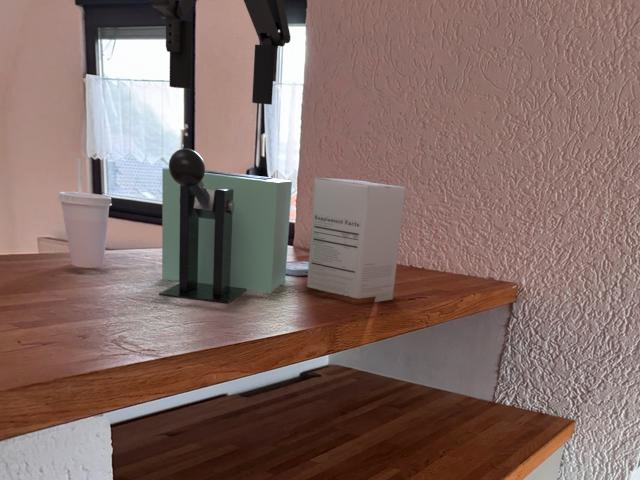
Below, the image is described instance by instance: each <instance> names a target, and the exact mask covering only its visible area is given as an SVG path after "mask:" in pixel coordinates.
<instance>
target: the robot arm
mask: <svg viewBox="0 0 640 480" xmlns="http://www.w3.org/2000/svg"><path fill="white" fill-rule="evenodd" d="M197 1H198V0H149V4H150V5H151V7H152V8H154V9H157V10H158V11H157V12H158V16H159V17H160V19H162V20H165V48H166V52H167V53H169V87H170V88H175V89H186V90H187V89H188V90H191V88H192V50H193V49H192V47H193V46H192V43H193V41H192V40H193V21H189V20H184V19H185V18H186V17H187V16H188V14H189V13H190V11H191V10H192V8H193V7H194V6H195V4H196V3H197ZM243 2H244V5H245V7H246V10H247V12H248V15H249V17H250V20H251V22H252V26H253V28H254V30H255V33H256V35H257V38H258V40H259V43H260V44H254V55H253V56H254V57H253V58H254V59H253V62H254V63H253V77H252V97H251V98H252V99H251V103H253V104H257V105H268V106H269V105H273V93H274V92H273V91H274V76H276V73H277V59H278V49H279V48H280V47H281V48H282V47H284V46H286V44H289V43H290V42H291V33H290V28H289V23H288V19H287V12H286V7H285V2H284V0H243Z"/></svg>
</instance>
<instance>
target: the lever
mask: <svg viewBox="0 0 640 480" xmlns="http://www.w3.org/2000/svg"><path fill="white" fill-rule="evenodd" d="M168 168H169V171H170V174H171V176H172V178H173V179H174V180H175V182H177V183H178V184H180V185H181V186H185V187H190V188H191V190H192V191H193V193H194V195H195V200H194V207H193V208H194V210H195V211H196V213H197V215H198V216H199V218H206V219H215V201H216V191H215V190H212V189H206V188H205V186H204V184H203V182H202V179H203V177H204V174H205V170H206V165H205V162H204V159H203V158H202V157H201V155H200V154H199V153H198V152H197V151H195V150H193V149H191V148H181V149H178V150H176V151H175V152H174V153H173V154H172V155H171V156H170V158H169V161H168Z"/></svg>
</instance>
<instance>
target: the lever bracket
mask: <svg viewBox="0 0 640 480" xmlns="http://www.w3.org/2000/svg"><path fill="white" fill-rule="evenodd" d="M194 200H195V195H194V193H193V191H192V190H191V188H190V187H185V186H181V185H180V252H179V281H178V283H177V284H175V285H173V286H171V287H169V288H167V289H165V290H163V291H160V292H159V293H158V296H160V297H170V298H178V299H186V300H193V301H200V302H201V301H202V302H208V303H209V302H210V303H217V304H226V305H229V304H230V303H232V302H233V301H234V300H235V299H237V298H239V297H240V296H241V295H242V294H244V293H245V292H247V291H248V290H247V289H245V288H237V287H230V269H231V242H232V216H233V212H234V201H233V189H227V188H224V189H216V201H215V236H214V270H213V284H205V283H197V281H198V233H199V216H198V215H197V213H196V211H195V210H194V208H193V207H194Z"/></svg>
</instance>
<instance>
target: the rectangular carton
mask: <svg viewBox="0 0 640 480" xmlns="http://www.w3.org/2000/svg"><path fill="white" fill-rule="evenodd" d="M313 186H314V187H313V201H312V214H311V225H310V242H309V253H308V261H309V266H308V275H307V280H306V282H307V283H306V287H307V288H310V289H314V290H318V291H323V292H327V293H331V294H335V295H341V296H344V297H349V298H353V299H366V298H367V299H368V298H374V301H373V303H379V302H380V303H381V302H387V301H393V298H394V290H395V281H396V275H397V267H398V266H397V264H398V258H399V257H398V256H399V248H400V239H401V231H402V229H401V228H402V222H403V213H404V204H405V195H406V187H405V186H399V185H391V184H384V183H376V182H372V181H364V180H358V179H357V180H356V179H345V178H329V177H327V178H325V177H315V178H314V185H313Z"/></svg>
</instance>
